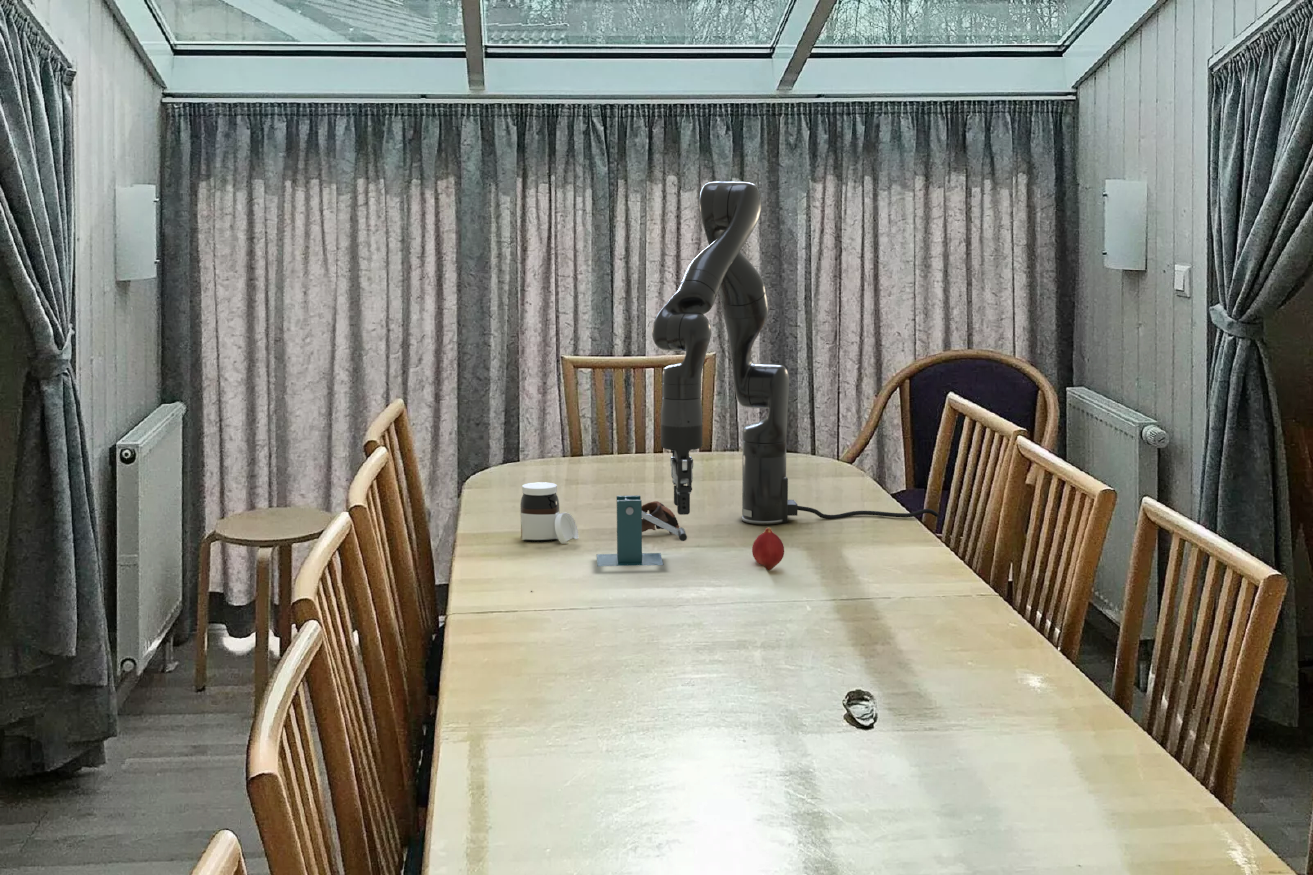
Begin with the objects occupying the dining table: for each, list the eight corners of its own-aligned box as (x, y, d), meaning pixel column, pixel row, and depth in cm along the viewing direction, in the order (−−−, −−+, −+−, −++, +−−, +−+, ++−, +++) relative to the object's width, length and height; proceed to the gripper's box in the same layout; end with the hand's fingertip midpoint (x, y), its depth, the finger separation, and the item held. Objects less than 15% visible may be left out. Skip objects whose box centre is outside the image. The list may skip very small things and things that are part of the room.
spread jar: (521, 538, 278) (520, 481, 277) (577, 536, 279) (577, 480, 277) (520, 551, 267) (519, 492, 265) (579, 550, 267) (578, 491, 266)
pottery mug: (683, 545, 273) (664, 511, 271) (641, 563, 276) (621, 530, 273) (686, 517, 284) (667, 485, 282) (646, 535, 287) (627, 503, 284)
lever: (681, 538, 257) (687, 527, 257) (683, 544, 252) (689, 533, 252) (618, 507, 256) (624, 495, 255) (619, 512, 251) (625, 501, 250)
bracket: (660, 559, 260) (660, 492, 258) (663, 571, 251) (663, 502, 249) (596, 561, 259) (595, 493, 257) (597, 572, 250) (596, 503, 248)
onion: (749, 566, 254) (750, 524, 253) (780, 565, 255) (781, 523, 253) (754, 574, 248) (754, 531, 247) (786, 573, 249) (786, 530, 248)
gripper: (705, 427, 245) (705, 517, 247) (698, 416, 259) (698, 501, 261) (663, 427, 244) (663, 517, 247) (658, 417, 258) (658, 502, 261)
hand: (681, 509), depth 254 cm, fingers open, 8 cm apart
